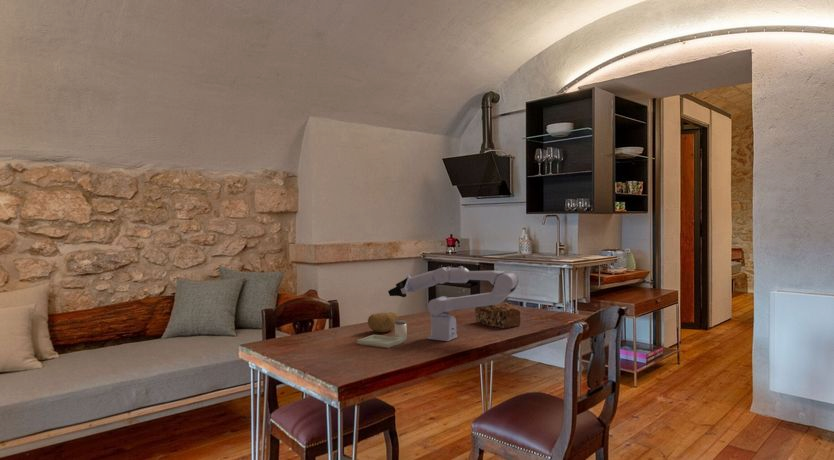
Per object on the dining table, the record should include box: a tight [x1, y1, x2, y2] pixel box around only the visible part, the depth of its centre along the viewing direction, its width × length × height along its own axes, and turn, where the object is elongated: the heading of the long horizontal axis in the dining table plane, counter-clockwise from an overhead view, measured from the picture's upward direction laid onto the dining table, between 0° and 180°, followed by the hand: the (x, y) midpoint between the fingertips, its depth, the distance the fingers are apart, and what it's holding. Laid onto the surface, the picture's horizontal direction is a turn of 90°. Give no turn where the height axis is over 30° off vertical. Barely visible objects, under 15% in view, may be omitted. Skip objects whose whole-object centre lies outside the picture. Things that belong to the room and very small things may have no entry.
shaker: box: [394, 320, 408, 341], centre depth 192 cm, size 5×5×7 cm
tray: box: [357, 334, 405, 349], centre depth 186 cm, size 14×10×2 cm
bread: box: [474, 301, 522, 329], centre depth 216 cm, size 19×11×10 cm, turn 32°
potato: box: [367, 311, 399, 333], centre depth 206 cm, size 10×14×8 cm
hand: (393, 290), depth 200 cm, fingers open, 7 cm apart
